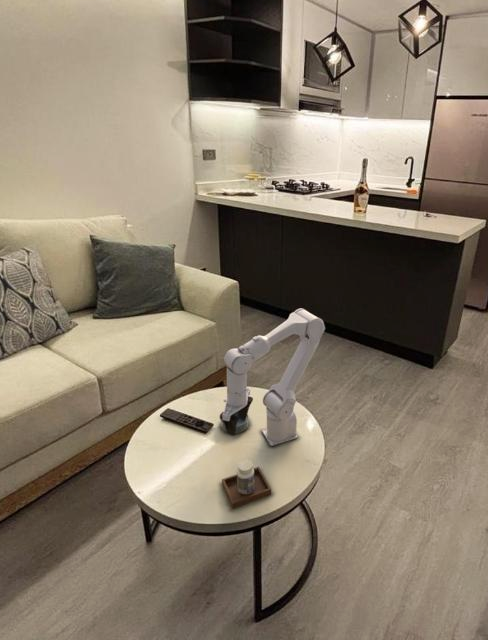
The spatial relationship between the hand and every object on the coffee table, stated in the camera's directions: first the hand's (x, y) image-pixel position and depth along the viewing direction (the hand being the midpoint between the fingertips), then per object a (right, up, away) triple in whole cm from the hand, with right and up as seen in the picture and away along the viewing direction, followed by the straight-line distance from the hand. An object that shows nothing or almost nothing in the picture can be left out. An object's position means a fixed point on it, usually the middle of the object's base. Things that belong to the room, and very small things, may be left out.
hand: (237, 426), depth 123 cm
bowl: (-3, -4, +16) cm, 17 cm away
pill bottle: (+4, -15, -9) cm, 18 cm away
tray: (+4, -15, -9) cm, 18 cm away
